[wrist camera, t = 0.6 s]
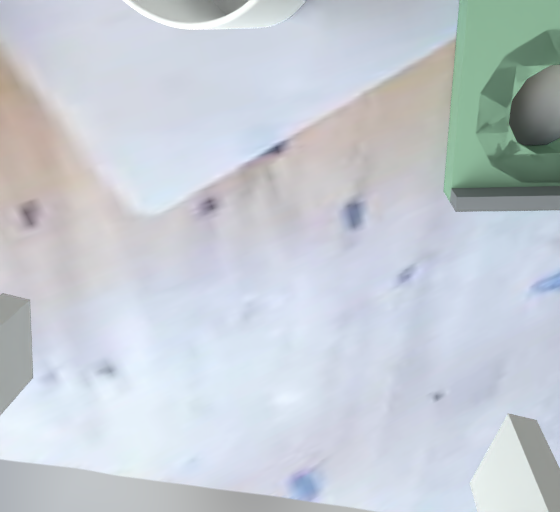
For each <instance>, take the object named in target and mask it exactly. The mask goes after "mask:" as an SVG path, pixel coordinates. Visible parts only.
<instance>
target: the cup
mask: <svg viewBox="0 0 560 512" xmlns="http://www.w3.org/2000/svg"><path fill="white" fill-rule="evenodd" d="M123 1H125V2H126V3H127V4H128V5H129V6H131V7H132V8H133V9H135V10H136V11H138V12H139V13H141V14H142V15H144V16H146V17H148V18H150V19H152V20H154V21H157V22H159V23H161V24H165V25H168V26H171V27H175V28H180V29H190V30H200V29H244V28H265V27H270V26H274V25H277V24H279V23H281V22H283V21H285V20H287V19H288V18H290V17H291V16H292V15H293V14H295V13H296V12H297V11H298V10H299V9H300V8H301V6H302V5H303V4H304V3H305V1H306V0H123Z"/></svg>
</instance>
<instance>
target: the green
mask: <svg viewBox="0 0 560 512" xmlns="http://www.w3.org/2000/svg"><path fill="white" fill-rule="evenodd" d="M550 65H560V0H460V1H459V13H458V25H457V37H456V49H455V61H454V73H453V85H452V97H451V109H450V120H449V132H448V144H447V156H446V168H445V180H444V193H445V195H446V196H447V198H448V200H449V201H450V203H451V205H452V206H453V208H454V210H455V211H456V212H467V211H538V210H560V138H559V139H557V140H555V141H553V142H551V143H549V144H547V145H528V146H524V145H522V144H520V143H519V142H517V141H516V138H515V136H514V134H513V132H512V130H511V128H510V126H509V118H510V111H511V103H512V100H513V98H514V97H515V95H516V94H517V92H518V91H519V90H520V88H521V87H522V85H523V84H524V83H525V81H526V80H527V79H528V78H529V77H531V76H533V75H535V74H536V73H538V72H540V71H542V70H543V69H545V68H547V67H548V66H550Z"/></svg>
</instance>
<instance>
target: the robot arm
mask: <svg viewBox="0 0 560 512" xmlns="http://www.w3.org/2000/svg"><path fill="white" fill-rule="evenodd" d="M32 378H33V361H32V336H31V311H30V300H29V299H25V298H20V297H16V296H12V295H8V294H4V293H2V294H1V295H0V415H1V414H2V413H3V412H4V411H5V409H6V408H7V407H8V406H9V405H10V404H11V402H12V401H13V400H14V399H15V398H16V397H17V396H18V394H19V393H20V392H21V391H22V390H23V389H24V388H25V386H26V385H27V384H28V383H29V382H30V381H31V380H32ZM470 486H471V489H472V493H473V497H474V501H475V504H476V508H477V512H560V468H559V466H558V464H557V462H556V460H555V458H554V456H553V454H552V452H551V449H550V447H549V445H548V443H547V441H546V439H545V437H544V435H543V433H542V431H541V429H540V426H539V424H538V422H537V420H534V419H529V418H525V417H521V416H517V415H513V414H507V416H506V418H505V420H504V422H503V423H502V425H501V427H500V429H499V431H498V433H497V434H496V436H495V438H494V440H493V442H492V443H491V445H490V447H489V449H488V451H487V452H486V454H485V456H484V458H483V460H482V461H481V463H480V465H479V467H478V469H477V471H476V472H475V474H474V476H473V478H472V480H471V481H470Z"/></svg>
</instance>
